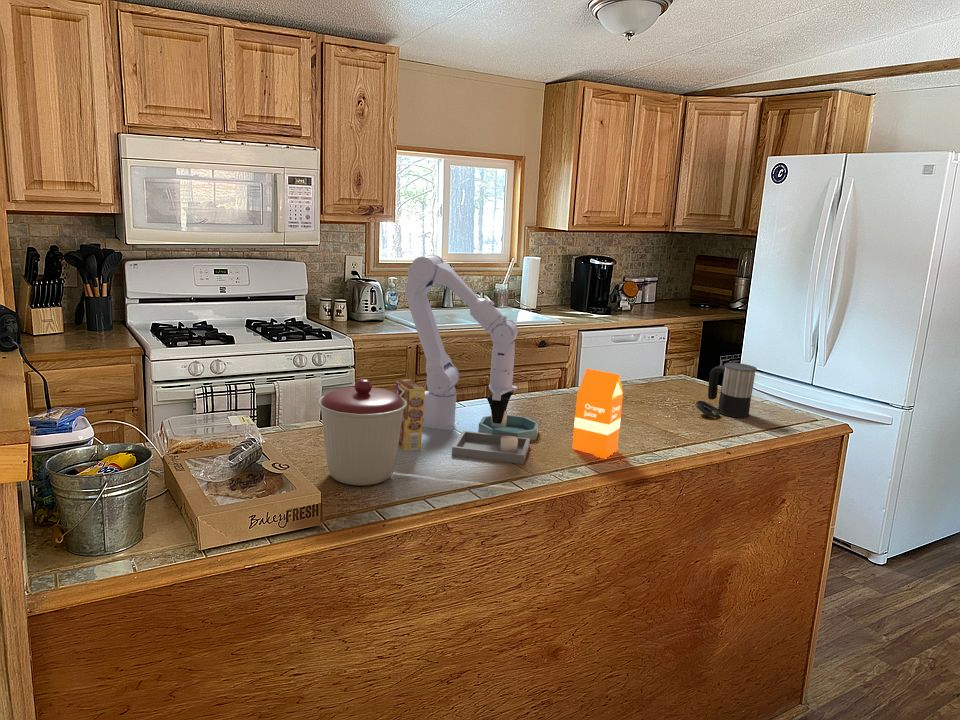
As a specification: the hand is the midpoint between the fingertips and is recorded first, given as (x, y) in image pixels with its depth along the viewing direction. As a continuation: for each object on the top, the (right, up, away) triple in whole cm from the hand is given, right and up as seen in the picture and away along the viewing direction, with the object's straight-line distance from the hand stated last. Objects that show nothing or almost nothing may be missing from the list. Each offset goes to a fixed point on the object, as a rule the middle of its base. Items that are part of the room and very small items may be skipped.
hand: (498, 420), depth 187 cm
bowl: (+2, -4, 0) cm, 4 cm away
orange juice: (+23, -7, -8) cm, 26 cm away
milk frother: (+67, -1, +31) cm, 74 cm away
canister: (-30, -9, -33) cm, 46 cm away
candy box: (-22, -5, -13) cm, 26 cm away
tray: (-2, -6, -14) cm, 15 cm away
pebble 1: (0, -1, 0) cm, 1 cm away
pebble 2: (+2, -6, -15) cm, 16 cm away
